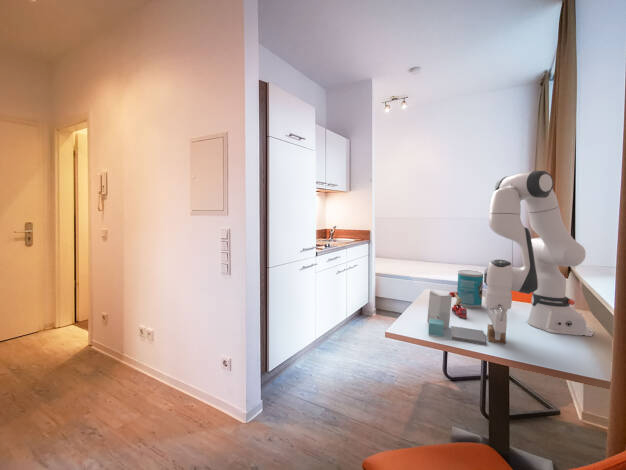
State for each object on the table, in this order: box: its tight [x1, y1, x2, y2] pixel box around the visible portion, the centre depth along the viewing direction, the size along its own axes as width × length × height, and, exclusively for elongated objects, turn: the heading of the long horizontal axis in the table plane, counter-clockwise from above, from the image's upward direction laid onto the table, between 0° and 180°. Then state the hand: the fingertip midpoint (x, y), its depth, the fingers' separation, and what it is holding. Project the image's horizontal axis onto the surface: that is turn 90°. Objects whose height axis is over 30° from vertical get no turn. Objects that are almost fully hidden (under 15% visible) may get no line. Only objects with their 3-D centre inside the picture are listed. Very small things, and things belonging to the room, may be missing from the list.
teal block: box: [427, 319, 444, 338], centre depth 127 cm, size 6×6×5 cm
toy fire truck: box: [448, 291, 468, 319], centre depth 151 cm, size 3×14×10 cm, turn 179°
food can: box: [456, 269, 484, 309], centre depth 164 cm, size 12×12×18 cm
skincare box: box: [426, 289, 453, 329], centre depth 136 cm, size 8×6×15 cm
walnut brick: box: [486, 323, 507, 345], centre depth 121 cm, size 6×6×5 cm
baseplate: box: [450, 325, 487, 346], centre depth 124 cm, size 12×12×1 cm
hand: (495, 335), depth 121 cm, fingers closed on walnut brick, 5 cm apart
